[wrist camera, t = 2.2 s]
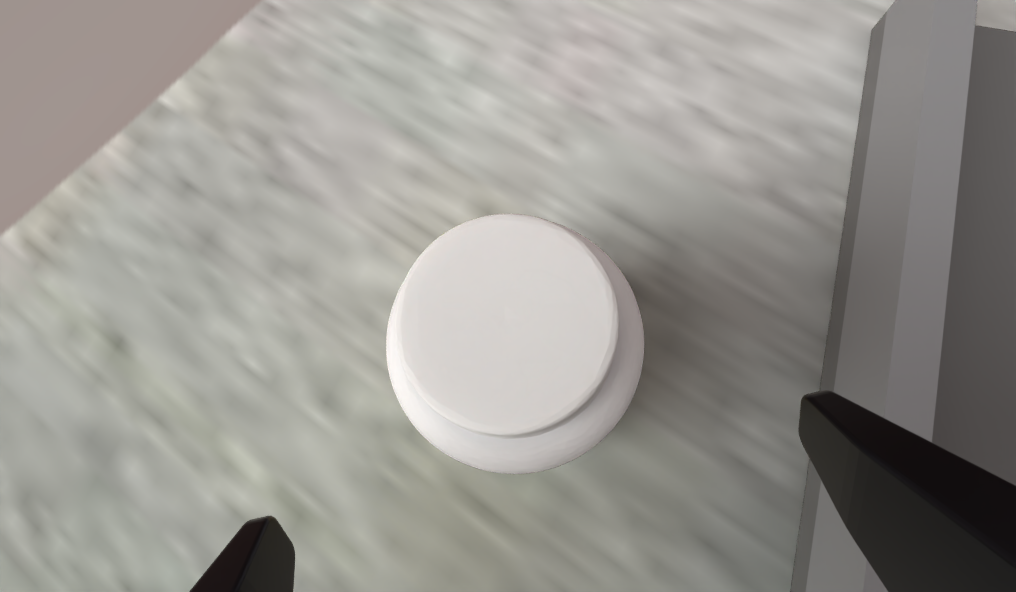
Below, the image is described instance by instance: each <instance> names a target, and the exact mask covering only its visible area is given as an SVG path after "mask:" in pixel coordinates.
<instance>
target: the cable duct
mask: <svg viewBox="0 0 1016 592" xmlns="http://www.w3.org/2000/svg"><path fill="white" fill-rule="evenodd" d="M976 10H977V0H896V1H895V2H894V3H893V4H892V5H891V7H890V8H889V9H888V10H887V12H886V13H885V14H884V15H883V17H882V18H881V19H880V20H879V22H878V23H877V24H876V25H875V27H874V28H873V29H872V33H871V40H870V47H869V54H868V61H867V67H866V74H865V81H864V88H863V95H862V102H861V109H860V116H859V123H858V130H857V136H856V143H855V150H854V157H853V164H852V171H851V178H850V185H849V192H848V198H847V205H846V212H845V219H844V226H843V233H842V240H841V247H840V254H839V260H838V267H837V274H836V281H835V288H834V295H833V302H832V309H831V316H830V322H829V329H828V336H827V343H826V350H825V357H824V364H823V371H822V378H821V385H820V391H823V390H829V391H832V392H835V393H837V394H839V395H841V396H842V397H844V398H846V399H848V400H850V401H852V402H854V403H856V404H858V405H860V406H862V407H864V408H866V409H868V410H870V411H872V412H874V413H876V414H878V415H880V416H881V417H883V418H885V419H887V420H889V421H891V422H893V423H895V424H897V425H899V426H901V427H903V428H905V429H907V430H909V431H911V432H913V433H915V434H917V435H919V436H920V437H922V438H924V439H926V440H928V441H930V442H932V443H934V444H936V445H938V446H940V447H942V448H944V449H946V450H948V451H950V452H952V453H954V454H956V455H958V456H959V457H961V458H963V459H965V460H967V461H969V462H971V463H973V464H975V465H977V466H979V467H981V468H983V469H985V470H987V471H989V472H991V473H993V474H995V475H997V476H998V477H1000V478H1002V479H1004V480H1006V481H1008V482H1010V483H1012V484H1014V485H1016V32H1013V31H1007V30H1001V29H994V28H988V27H982V26H976V25H975V20H976ZM790 592H888V591H887V589H886V588H885V586H884V585H883V583H882V582H881V580H880V579H879V577H878V576H877V574H876V573H875V571H874V570H873V568H872V567H871V565H870V564H869V562H868V561H867V559H866V558H865V556H864V555H863V553H862V552H861V550H860V549H859V547H858V546H857V544H856V543H855V541H854V539H853V538H852V536H851V535H850V533H849V531H848V530H847V528H846V527H845V525H844V523H843V521H842V519H841V517H840V516H839V514H838V512H837V510H836V508H835V506H834V504H833V502H832V500H831V498H830V496H829V495H828V493H827V491H826V489H825V487H824V485H823V483H822V481H821V479H820V477H819V475H818V473H817V471H816V469H815V468H814V466H813V464H812V462H811V460H809V467H808V474H807V481H806V488H805V495H804V502H803V509H802V515H801V522H800V529H799V536H798V543H797V550H796V557H795V564H794V571H793V578H792V584H791V591H790Z"/></svg>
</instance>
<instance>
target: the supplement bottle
mask: <svg viewBox="0 0 1016 592" xmlns="http://www.w3.org/2000/svg"><path fill="white" fill-rule="evenodd" d="M386 353H387V364H388V371H389V375H390V380H391V383H392V386H393V389H394V392H395V394H396V396H397V399H398V401H399V403H400V405H401V407H402V409H403V410H404V412H405V414H406V415H407V417H408V418H409V420H410V421H411V422H412V424H413V425H414V426H415V428H416V429H417V430H418V431H419V432H420V433H421V435H422V436H424V437H425V438H426V439H427V440H428V441H429V442H430V443H431V444H432V445H434V446H435V447H436V448H438V449H439V450H440V451H442V452H443V453H445V454H446V455H448V456H450V457H451V458H453V459H455V460H457V461H459V462H461V463H464V464H466V465H469V466H471V467H474V468H477V469H480V470H485V471H490V472H495V473H504V474H524V473H534V472H540V471H545V470H548V469H552V468H555V467H558V466H560V465H563V464H565V463H568V462H570V461H572V460H574V459H576V458H578V457H579V456H581V455H583V454H584V453H586V452H587V451H589V450H590V449H591V448H593V447H594V446H595V445H597V444H598V443H599V442H600V441H601V440H602V439H603V438H604V437H606V436H607V435H608V434H609V433H610V432H611V430H612V429H613V428H614V427H615V426H616V425H617V423H618V422H619V420H620V419H621V417H622V416H623V414H624V413H625V412H626V410H627V408H628V406H629V404H630V402H631V401H632V399H633V396H634V394H635V391H636V388H637V386H638V383H639V379H640V376H641V371H642V365H643V358H644V330H643V323H642V318H641V314H640V310H639V307H638V304H637V301H636V298H635V296H634V293H633V291H632V289H631V287H630V285H629V283H628V282H627V280H626V278H625V277H624V275H623V274H622V272H621V271H620V269H619V268H618V267H617V265H616V264H615V263H614V262H613V261H612V260H611V258H610V257H609V256H608V255H607V254H606V253H605V252H604V251H603V250H601V249H600V248H599V247H598V246H596V245H595V244H594V243H593V242H591V241H590V240H588V239H587V238H586V237H584V236H582V235H580V234H579V233H577V232H575V231H573V230H571V229H569V228H567V227H565V226H562V225H559V224H557V223H553V222H550V221H548V220H545V219H542V218H538V217H534V216H529V215H522V214H495V215H487V216H483V217H480V218H476V219H473V220H469V221H467V222H464V223H462V224H460V225H457V226H456V227H454V228H452V229H450V230H449V231H447V232H446V233H444V234H443V235H441V236H440V237H438V238H437V239H436V240H435V241H434V242H432V243H431V244H430V245H429V246H428V247H427V248H426V249H425V251H424V252H423V253H422V254H421V255H420V256H419V257H418V259H417V260H416V262H415V263H414V264H413V266H412V267H411V269H410V270H409V272H408V274H407V277H406V279H405V280H404V282H403V283H402V285H401V287H400V289H399V291H398V293H397V296H396V298H395V301H394V304H393V307H392V310H391V314H390V317H389V322H388V328H387V339H386Z"/></svg>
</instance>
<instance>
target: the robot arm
mask: <svg viewBox="0 0 1016 592" xmlns="http://www.w3.org/2000/svg"><path fill="white" fill-rule="evenodd" d="M799 436H800V439H801V442H802V444H803V446H804V448H805V450H806V452H807V454H808V456H809V458H810V460H811V462H812V464H813V466H814V468H815V469H816V471H817V473H818V475H819V477H820V479H821V481H822V483H823V485H824V487H825V489H826V491H827V493H828V495H829V496H830V498H831V500H832V502H833V504H834V506H835V508H836V510H837V512H838V514H839V516H840V517H841V519H842V521H843V523H844V525H845V527H846V528H847V530H848V531H849V533H850V535H851V536H852V538H853V539H854V541H855V543H856V544H857V546H858V547H859V549H860V550H861V552H862V553H863V555H864V556H865V558H866V559H867V561H868V562H869V564H870V565H871V567H872V568H873V570H874V571H875V573H876V574H877V576H878V577H879V579H880V580H881V582H882V583H883V585H884V586H885V588H886V589H887V591H888V592H1016V485H1014V484H1012V483H1010V482H1008V481H1006V480H1004V479H1002V478H1000V477H998V476H997V475H995V474H993V473H991V472H989V471H987V470H985V469H983V468H981V467H979V466H977V465H975V464H973V463H971V462H969V461H967V460H965V459H963V458H961V457H959V456H958V455H956V454H954V453H952V452H950V451H948V450H946V449H944V448H942V447H940V446H938V445H936V444H934V443H932V442H930V441H928V440H926V439H924V438H922V437H920V436H919V435H917V434H915V433H913V432H911V431H909V430H907V429H905V428H903V427H901V426H899V425H897V424H895V423H893V422H891V421H889V420H887V419H885V418H883V417H881V416H880V415H878V414H876V413H874V412H872V411H870V410H868V409H866V408H864V407H862V406H860V405H858V404H856V403H854V402H852V401H850V400H848V399H846V398H844V397H842V396H841V395H839V394H837V393H835V392H832V391H829V390H823V391H819V392H814V393H810V394H806V395H804V396H803V398H802V400H801V408H800V419H799ZM294 569H295V551H294V547H293V544H292V542H291V541H290V539H289V538H288V536H287V534H286V533H285V531H284V530H283V528H282V527H281V525H280V524H279V522H278V521H277V520H276V518H274V517H272V516H265V517H261V518H256V519H252V520H249V521H247V522H246V523H245V524H244V525H243V526H242V527H241V529H240V530H239V531H238V532H237V534H236V535H235V536H234V537H233V539H232V540H231V541H230V542H229V543H228V545H227V546H226V547H225V548H224V550H223V551H222V552H221V553H220V555H219V556H218V557H217V558H216V560H215V561H214V562H213V563H212V564H211V566H210V567H209V568H208V569H207V571H206V572H205V573H204V574H203V576H202V577H201V578H200V579H199V580H198V582H197V583H196V584H195V585H194V587H193V588H192V589H191V590H190V592H293V586H294Z"/></svg>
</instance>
